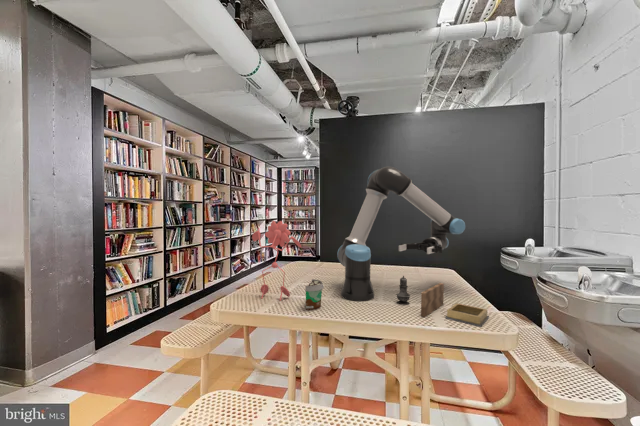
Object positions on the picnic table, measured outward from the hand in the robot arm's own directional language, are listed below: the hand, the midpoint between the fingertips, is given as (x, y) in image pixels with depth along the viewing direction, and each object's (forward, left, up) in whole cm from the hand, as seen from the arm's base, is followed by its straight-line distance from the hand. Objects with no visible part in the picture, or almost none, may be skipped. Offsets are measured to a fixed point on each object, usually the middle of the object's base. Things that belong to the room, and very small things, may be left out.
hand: (413, 249), depth 134 cm
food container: (-45, -10, -22) cm, 51 cm away
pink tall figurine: (-62, +6, -22) cm, 66 cm away
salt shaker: (-7, -7, -22) cm, 24 cm away
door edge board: (+2, -16, -22) cm, 27 cm away
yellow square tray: (+11, -25, -22) cm, 35 cm away
